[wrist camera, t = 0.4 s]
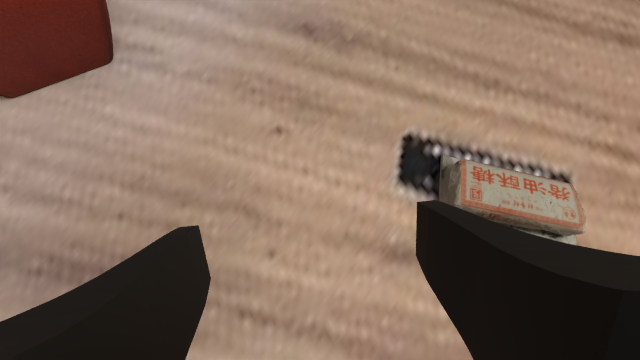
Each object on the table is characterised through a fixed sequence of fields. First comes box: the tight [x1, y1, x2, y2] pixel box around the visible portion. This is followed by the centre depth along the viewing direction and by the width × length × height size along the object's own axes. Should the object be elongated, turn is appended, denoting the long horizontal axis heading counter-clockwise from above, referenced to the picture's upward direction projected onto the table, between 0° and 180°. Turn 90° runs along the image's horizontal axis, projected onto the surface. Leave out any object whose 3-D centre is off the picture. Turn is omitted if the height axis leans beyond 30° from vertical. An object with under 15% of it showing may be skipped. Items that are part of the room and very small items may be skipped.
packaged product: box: [439, 156, 586, 245], centre depth 42 cm, size 18×5×10 cm
